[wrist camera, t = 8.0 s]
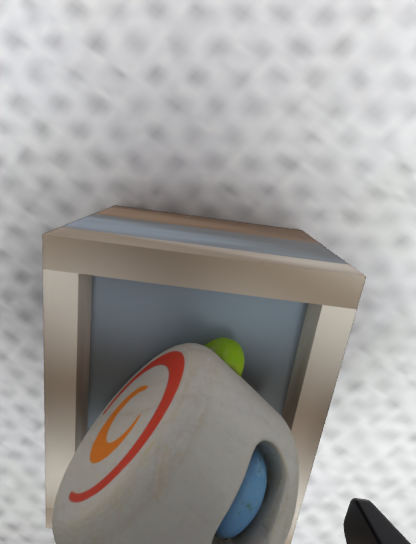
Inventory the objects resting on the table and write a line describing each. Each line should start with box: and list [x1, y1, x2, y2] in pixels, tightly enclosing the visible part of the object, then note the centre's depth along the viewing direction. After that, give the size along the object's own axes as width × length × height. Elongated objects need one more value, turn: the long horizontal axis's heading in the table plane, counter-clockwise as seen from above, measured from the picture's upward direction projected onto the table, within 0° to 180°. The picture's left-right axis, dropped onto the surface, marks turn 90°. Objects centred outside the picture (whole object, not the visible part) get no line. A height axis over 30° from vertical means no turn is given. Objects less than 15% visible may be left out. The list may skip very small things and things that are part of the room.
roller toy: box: [52, 337, 299, 544], centre depth 10 cm, size 4×6×6 cm
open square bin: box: [42, 205, 366, 544], centre depth 15 cm, size 11×9×7 cm
